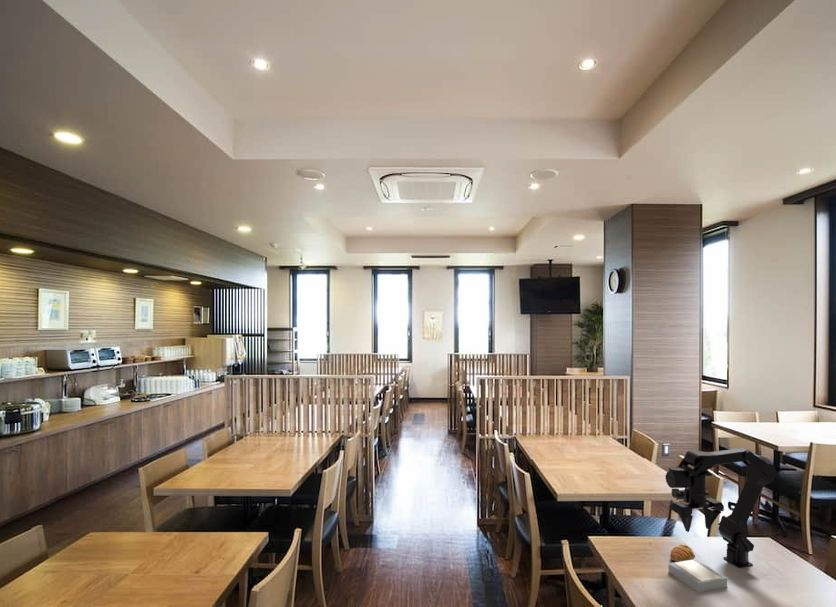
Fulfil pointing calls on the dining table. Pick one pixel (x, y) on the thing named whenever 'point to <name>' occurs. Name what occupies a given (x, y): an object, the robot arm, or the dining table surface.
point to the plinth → (697, 575)
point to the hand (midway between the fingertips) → (697, 530)
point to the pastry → (682, 553)
